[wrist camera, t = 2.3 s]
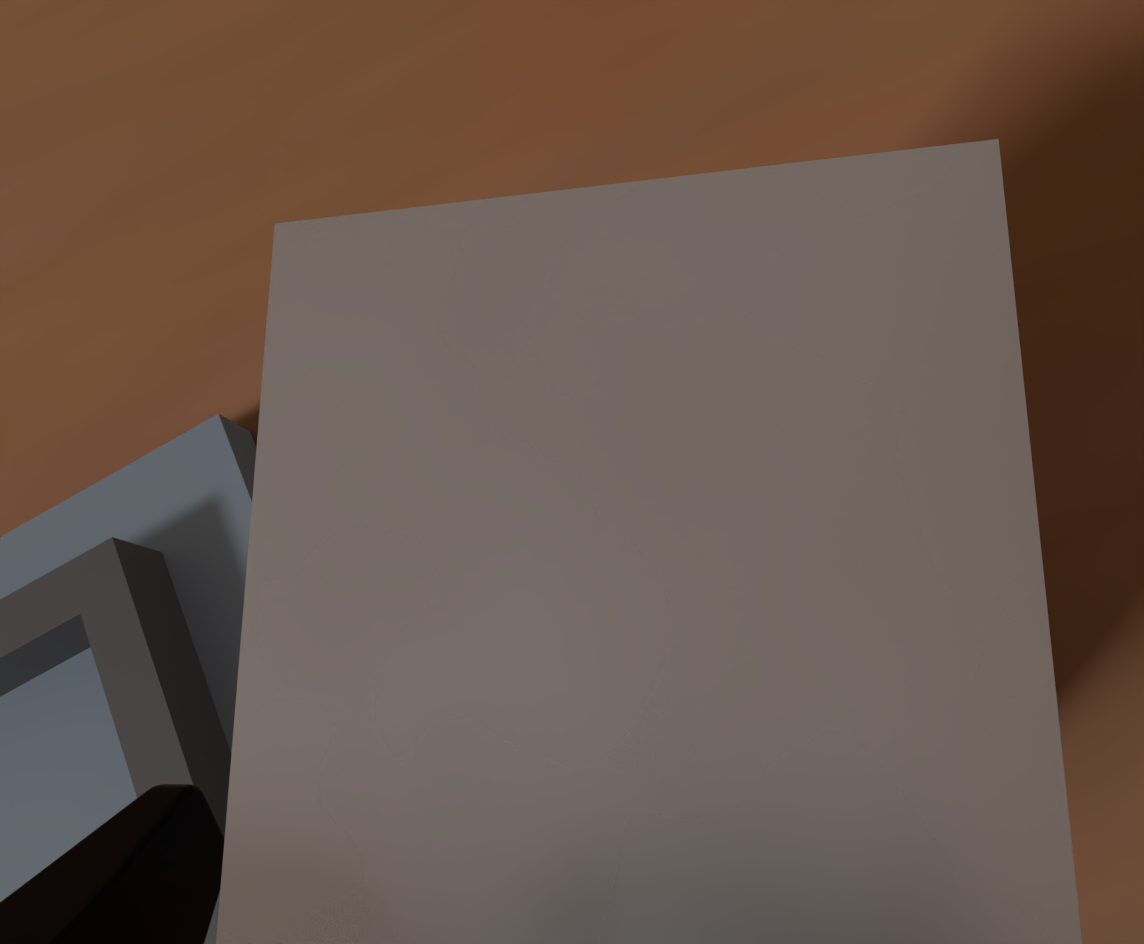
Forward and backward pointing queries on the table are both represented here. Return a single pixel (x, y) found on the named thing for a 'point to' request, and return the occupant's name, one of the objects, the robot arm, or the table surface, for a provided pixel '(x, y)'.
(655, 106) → the table surface
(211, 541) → the dock
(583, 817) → the block
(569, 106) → the table surface
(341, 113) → the table surface
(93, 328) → the table surface
